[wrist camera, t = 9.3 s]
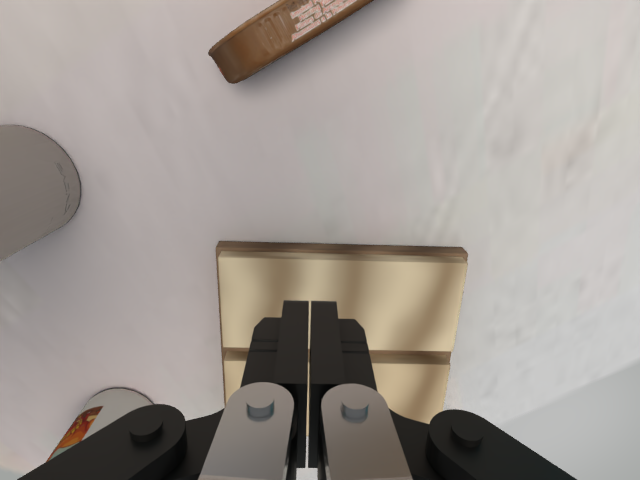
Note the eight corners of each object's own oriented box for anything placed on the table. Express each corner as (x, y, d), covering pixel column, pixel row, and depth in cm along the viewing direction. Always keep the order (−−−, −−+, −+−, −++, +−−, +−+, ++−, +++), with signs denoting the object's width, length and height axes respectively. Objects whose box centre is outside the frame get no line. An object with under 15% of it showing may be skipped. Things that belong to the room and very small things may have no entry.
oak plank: (226, 337, 39) (223, 347, 38) (221, 250, 36) (218, 257, 35) (447, 342, 40) (452, 351, 39) (461, 256, 37) (467, 263, 36)
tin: (395, -59, 30) (425, -109, 22) (414, -15, 31) (448, -48, 23) (219, 52, 32) (189, 43, 24) (241, 90, 33) (219, 93, 25)
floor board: (228, 417, 45) (223, 439, 42) (219, 241, 38) (211, 253, 35) (433, 419, 45) (442, 442, 42) (462, 247, 38) (474, 260, 35)
